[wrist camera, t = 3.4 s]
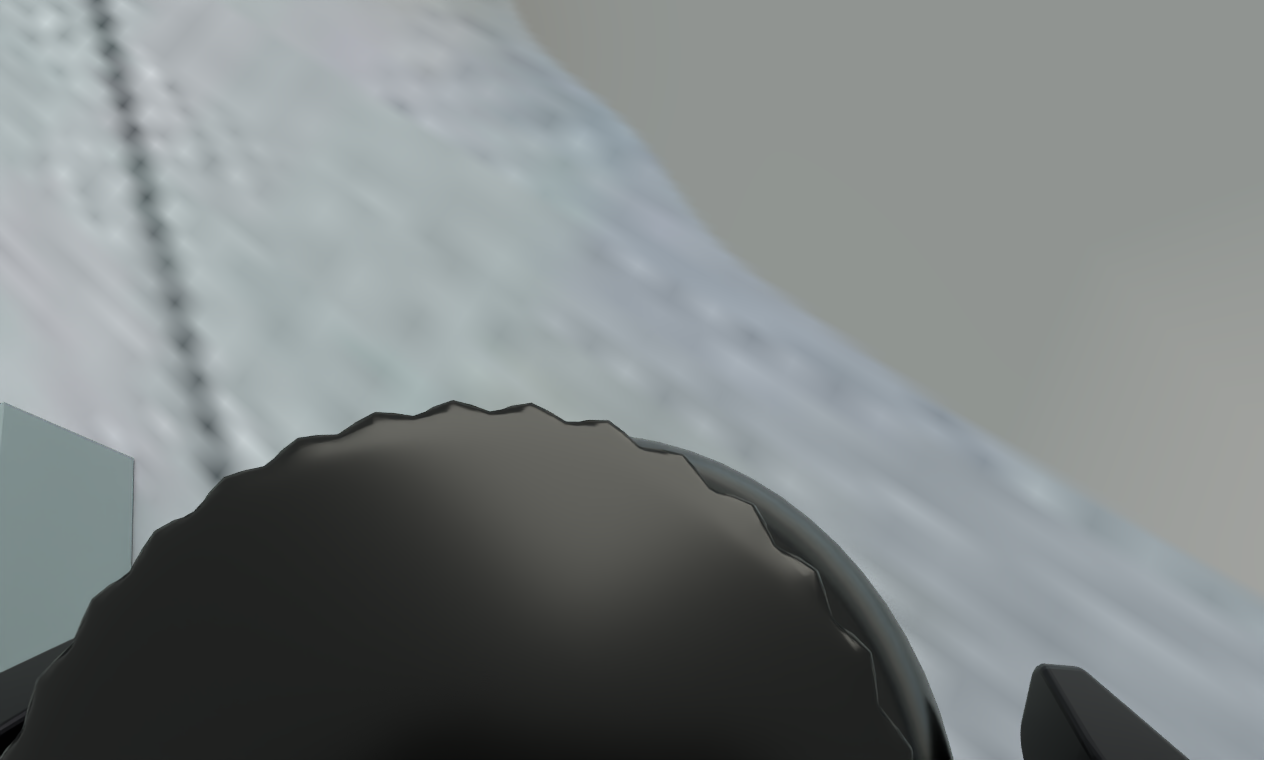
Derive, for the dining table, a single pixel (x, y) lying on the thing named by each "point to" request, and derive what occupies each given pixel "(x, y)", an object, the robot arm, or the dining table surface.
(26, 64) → the dining table surface
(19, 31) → the dining table surface
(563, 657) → the supplement bottle
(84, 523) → the acrylic wall
